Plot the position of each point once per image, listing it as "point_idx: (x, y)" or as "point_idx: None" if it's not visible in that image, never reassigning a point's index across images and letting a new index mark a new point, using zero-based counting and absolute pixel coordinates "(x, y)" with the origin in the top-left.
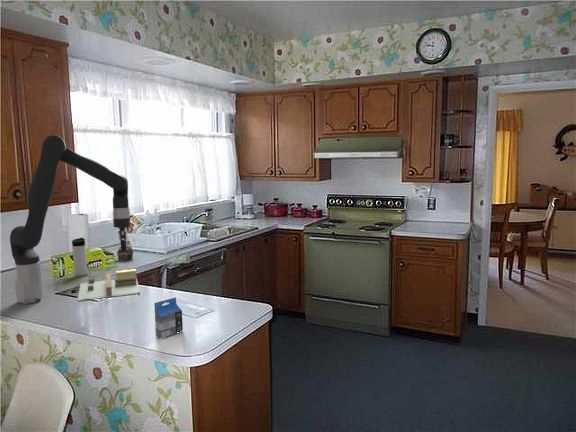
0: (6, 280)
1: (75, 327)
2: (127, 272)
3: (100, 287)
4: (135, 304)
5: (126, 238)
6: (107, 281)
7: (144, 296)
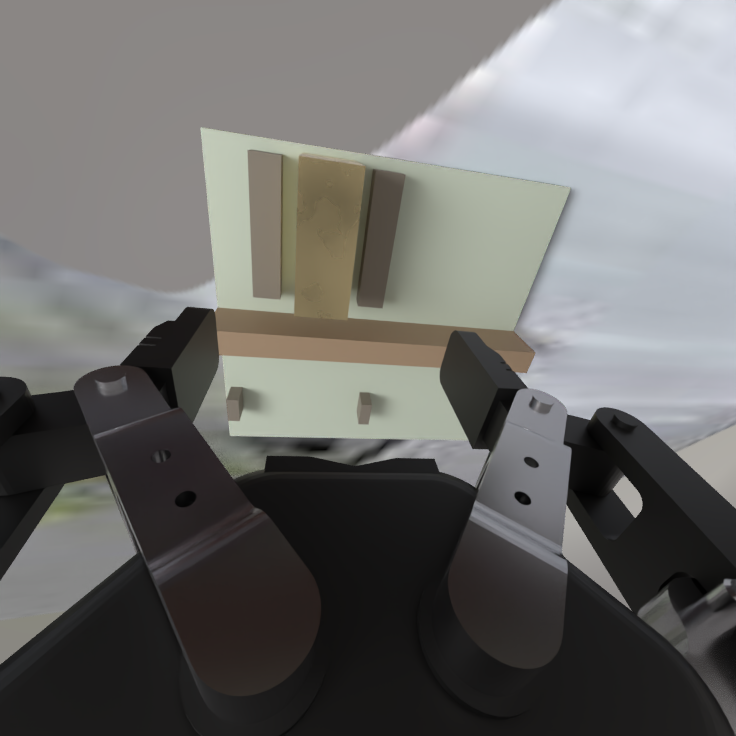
0: (62, 608)
1: (688, 433)
2: (355, 240)
3: (346, 366)
4: (685, 243)
5: (562, 444)
6: (419, 361)
7: (619, 170)
